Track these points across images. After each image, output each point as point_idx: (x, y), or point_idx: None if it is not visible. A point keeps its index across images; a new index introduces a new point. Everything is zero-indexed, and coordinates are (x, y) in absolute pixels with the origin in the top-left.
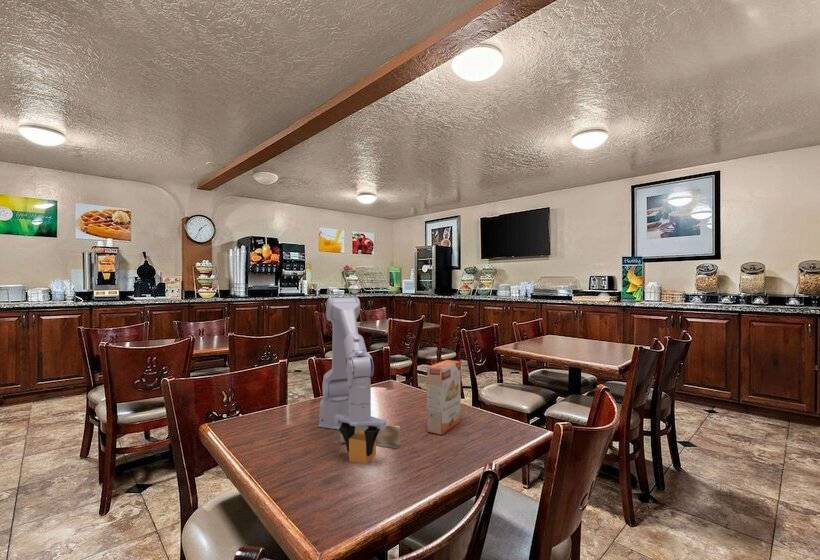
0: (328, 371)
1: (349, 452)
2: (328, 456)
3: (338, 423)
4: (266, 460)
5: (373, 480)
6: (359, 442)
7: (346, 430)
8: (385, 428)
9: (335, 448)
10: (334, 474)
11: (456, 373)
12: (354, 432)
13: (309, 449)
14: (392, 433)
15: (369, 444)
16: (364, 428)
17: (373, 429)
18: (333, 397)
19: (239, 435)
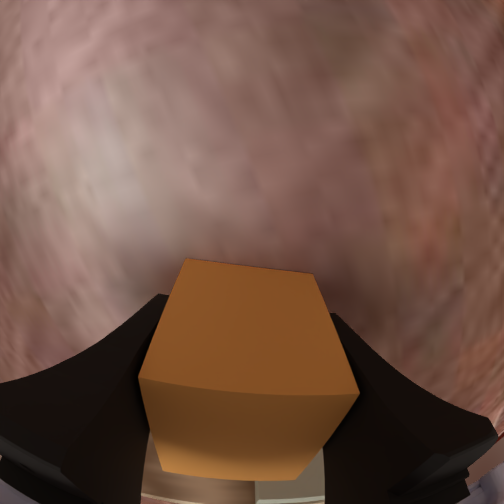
0: None
1: (322, 306)
2: (431, 297)
3: (486, 474)
4: None
5: (72, 80)
6: (225, 369)
7: (425, 455)
8: (181, 489)
9: (405, 369)
10: (347, 82)
11: None
12: (324, 462)
13: (491, 326)
14: (148, 467)
15: (103, 342)
16: (289, 485)
17: (24, 470)
18: None
19: None
